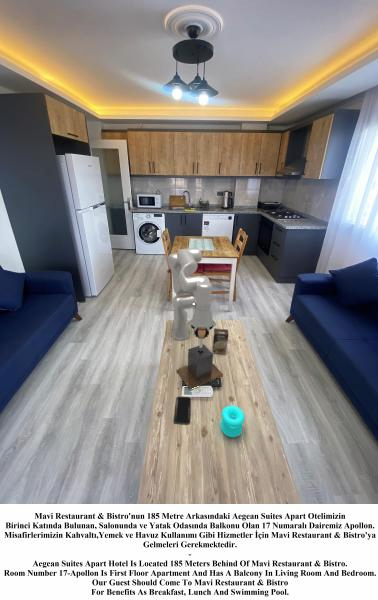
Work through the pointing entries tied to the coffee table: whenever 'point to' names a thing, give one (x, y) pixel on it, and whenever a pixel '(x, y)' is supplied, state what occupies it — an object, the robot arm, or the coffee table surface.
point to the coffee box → (220, 341)
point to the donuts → (232, 421)
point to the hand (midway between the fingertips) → (201, 335)
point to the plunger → (201, 336)
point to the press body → (199, 368)
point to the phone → (182, 410)
